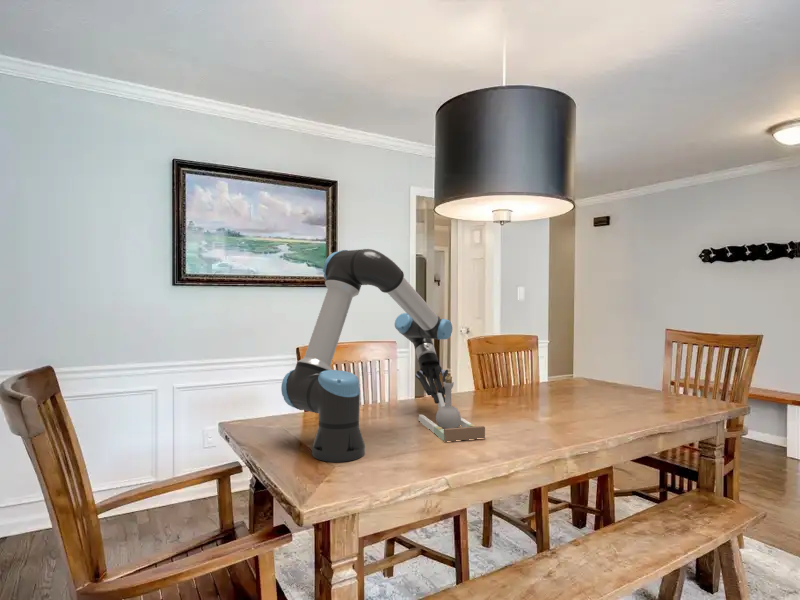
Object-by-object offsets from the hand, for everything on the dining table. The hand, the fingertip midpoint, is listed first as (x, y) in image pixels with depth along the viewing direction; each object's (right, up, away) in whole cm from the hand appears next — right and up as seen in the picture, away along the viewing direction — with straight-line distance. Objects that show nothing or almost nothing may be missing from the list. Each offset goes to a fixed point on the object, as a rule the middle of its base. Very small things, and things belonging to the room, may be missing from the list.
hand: (442, 410), depth 172 cm
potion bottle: (+1, -5, -5) cm, 7 cm away
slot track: (+2, -5, -6) cm, 8 cm away
